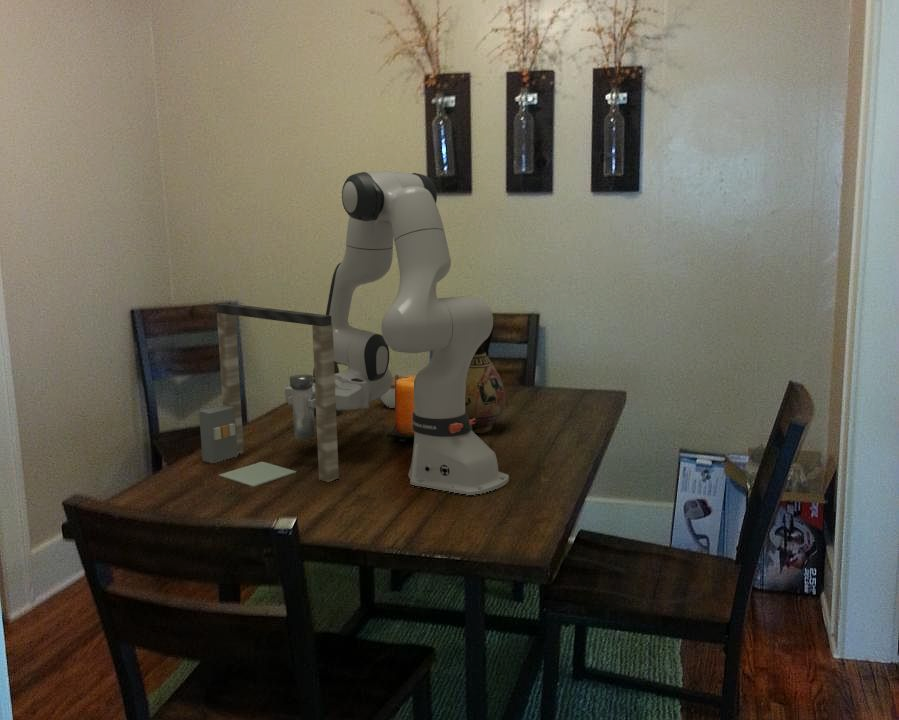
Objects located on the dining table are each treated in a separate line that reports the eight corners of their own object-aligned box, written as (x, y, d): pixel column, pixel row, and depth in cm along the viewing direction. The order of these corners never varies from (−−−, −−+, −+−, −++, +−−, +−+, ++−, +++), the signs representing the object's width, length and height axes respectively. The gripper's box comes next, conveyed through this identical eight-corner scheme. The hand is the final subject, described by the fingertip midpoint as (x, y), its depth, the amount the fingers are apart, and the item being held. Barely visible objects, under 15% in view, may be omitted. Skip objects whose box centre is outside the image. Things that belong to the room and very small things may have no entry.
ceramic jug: (482, 440, 220) (482, 321, 215) (434, 431, 230) (432, 316, 224) (520, 425, 234) (520, 313, 228) (472, 417, 243) (471, 308, 237)
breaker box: (239, 457, 210) (236, 408, 208) (214, 464, 205) (211, 414, 202) (227, 453, 213) (224, 405, 211) (202, 460, 208) (199, 411, 205)
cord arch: (338, 479, 193) (332, 315, 186) (328, 483, 191) (321, 317, 184) (236, 450, 215) (226, 303, 208) (225, 453, 213) (216, 304, 206)
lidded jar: (393, 413, 249) (392, 380, 247) (371, 406, 257) (370, 374, 255) (423, 406, 255) (423, 374, 254) (401, 400, 264) (400, 369, 262)
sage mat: (296, 472, 198) (296, 471, 198) (253, 486, 189) (253, 485, 189) (262, 462, 205) (262, 461, 205) (219, 475, 196) (218, 474, 196)
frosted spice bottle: (321, 435, 204) (317, 376, 201) (303, 440, 200) (300, 380, 197) (305, 432, 207) (302, 373, 204) (288, 437, 203) (284, 377, 200)
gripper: (308, 374, 218) (266, 385, 206) (372, 381, 206) (332, 393, 195) (309, 399, 219) (268, 411, 207) (373, 408, 207) (334, 421, 196)
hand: (300, 402), depth 201 cm, fingers closed on frosted spice bottle, 5 cm apart
